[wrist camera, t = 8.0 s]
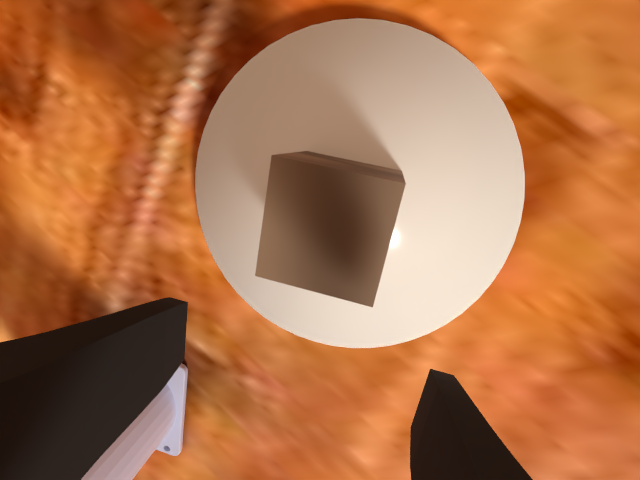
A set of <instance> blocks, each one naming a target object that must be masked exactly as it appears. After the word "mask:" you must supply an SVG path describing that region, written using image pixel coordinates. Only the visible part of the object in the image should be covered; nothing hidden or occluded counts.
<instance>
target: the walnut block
mask: <svg viewBox="0 0 640 480" xmlns="http://www.w3.org/2000/svg"><path fill="white" fill-rule="evenodd" d="M405 185H406V183H405V179H404V176H403V173H402V171H401V170H396V169H391V168H386V167H381V166H377V165H372V164H367V163H362V162H357V161H353V160H348V159H343V158H338V157H333V156H329V155H324V154H319V153H314V152H309V151H302V152H293V153H284V154H276V155H272V156H271V163H270V170H269V177H268V185H267V192H266V199H265V206H264V214H263V221H262V228H261V236H260V243H259V250H258V257H257V265H256V272H255V276H257V277H261V278H264V279H268V280H272V281H276V282H279V283H283V284H287V285H290V286H294V287H298V288H302V289H305V290H309V291H313V292H317V293H320V294H324V295H328V296H332V297H335V298H339V299H343V300H347V301H350V302H354V303H358V304H362V305H365V306H369V307H373V305H374V301H375V297H376V293H377V290H378V286H379V282H380V278H381V275H382V271H383V267H384V263H385V260H386V256H387V252H388V248H389V245H390V241H391V237H392V233H393V230H394V226H395V222H396V218H397V215H398V211H399V207H400V203H401V200H402V196H403V192H404V188H405Z"/></svg>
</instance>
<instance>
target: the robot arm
mask: <svg viewBox="0 0 640 480" xmlns="http://www.w3.org/2000/svg"><path fill="white" fill-rule="evenodd" d="M187 306H188V302H185V301H181V300H177V299H174V298H170V297H169V298H164V299H160V300H156V301H152V302H149V303H145V304H142V305H138V306H135V307H132V308H129V309H125V310H122V311H119V312H116V313H112V314H109V315H106V316H102V317H99V318H96V319H92V320H89V321H85V322H82V323H78V324H74V325H71V326H67V327H63V328H60V329H56V330H52V331H49V332H45V333H41V334H37V335H33V336H28V337H24V338H19V339H15V340H10V341H5V342H0V480H132V479H133V478H134V477H135V475H136V474H137V473H138V471H139V470H140V469H141V468H142V466H143V465H144V464H145V462H146V461H147V460H148V458H149V457H150V456H151V455H152V453H153V452H154V451H155V449H156V450H159V451H162V452H165V453H167V454H170V455H173V456H177V455H179V453H180V452H181V450H182V442H183V429H184V415H185V402H186V389H187V375H188V369H187V367H186V366H185V365H184V364H182V362H183V360H184V355H185V338H186V322H187ZM410 469H411V480H532V478H531V477H530V476H529V475H528V474H527V472H526V471H525V470H524V469H523V468H522V466H521V465H520V464H519V463H518V461H517V460H516V459H515V458H514V456H513V455H512V454H511V453H510V451H509V450H508V449H507V448H506V446H505V445H504V444H503V442H502V441H501V440H500V438H499V437H498V436H497V434H496V433H495V432H494V430H493V429H492V428H491V426H490V425H489V424H488V422H487V421H486V420H485V418H484V417H483V415H482V414H481V413H480V411H479V410H478V408H477V407H476V406H475V404H474V403H473V401H472V400H471V399H470V397H469V396H468V394H467V393H466V392H465V390H464V389H463V387H462V386H461V385H460V383H459V382H458V381H457V379H456V378H455V377H454V375H451V374H447V373H444V372H440V371H436V370H433V369H430V371H429V374H428V377H427V380H426V383H425V386H424V389H423V392H422V395H421V398H420V401H419V404H418V407H417V410H416V413H415V416H414V419H413V422H412V425H411V443H410Z"/></svg>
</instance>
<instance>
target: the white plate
mask: <svg viewBox="0 0 640 480" xmlns="http://www.w3.org/2000/svg"><path fill="white" fill-rule="evenodd" d="M302 151H309V152H314V153H319V154H324V155H329V156H333V157H338V158H343V159H348V160H353V161H357V162H362V163H367V164H372V165H377V166H381V167H386V168H391V169H396V170H401V171H402V173H403V176H404V179H405V183H406V185H405V188H404V192H403V196H402V200H401V203H400V207H399V211H398V215H397V218H396V222H395V226H394V230H393V233H392V237H391V241H390V245H389V248H388V252H387V256H386V260H385V263H384V267H383V271H382V275H381V278H380V282H379V286H378V290H377V293H376V297H375V301H374V305H373V307H369V306H365V305H362V304H358V303H354V302H350V301H347V300H343V299H339V298H335V297H332V296H328V295H324V294H320V293H317V292H313V291H309V290H305V289H302V288H298V287H294V286H290V285H287V284H283V283H279V282H276V281H272V280H268V279H264V278H261V277H257V276H255V272H256V265H257V257H258V250H259V243H260V236H261V228H262V221H263V214H264V206H265V199H266V192H267V185H268V177H269V170H270V163H271V156H272V155H276V154H284V153H293V152H302ZM524 189H525V173H524V165H523V158H522V150H521V147H520V143H519V140H518V136H517V133H516V129H515V126H514V124H513V122H512V119H511V117H510V115H509V113H508V111H507V109H506V106H505V104H504V103H503V101H502V100H501V98H500V96H499V95H498V93H497V92H496V90H495V89H494V87H493V86H492V84H491V83H490V82H489V81H488V79H487V78H486V77H485V76H484V75H483V74H482V73H481V72H480V71H479V69H478V68H477V67H476V66H475V65H474V64H473V63H472V62H471V61H469V60H468V59H467V58H466V57H464V56H463V55H462V54H461V53H460V52H458V51H457V50H456V49H455V48H453V47H452V46H450V45H448V44H446V43H445V42H443V41H441V40H440V39H438V38H436V37H434V36H433V35H431V34H428V33H426V32H423V31H421V30H418V29H416V28H413V27H410V26H408V25H404V24H399V23H395V22H390V21H386V20H377V19H363V18H355V19H342V20H332V21H328V22H324V23H320V24H315V25H311V26H308V27H306V28H303V29H301V30H298V31H295V32H293V33H290V34H288V35H286V36H284V37H283V38H281V39H279V40H277V41H276V42H274V43H272V44H270V45H269V46H267V47H266V48H265V49H263V50H262V51H261V52H259V53H258V54H257V55H256V56H254V57H253V58H252V59H250V60H249V61H248V62H247V63H246V64H245V65H244V66H243V67H242V68H241V69H240V71H239V72H238V73H237V74H236V75H235V76H234V77H233V78H232V80H231V81H230V82H229V84H228V85H227V86H226V88H225V89H224V90H223V92H222V93H221V95H220V97H219V98H218V100H217V102H216V104H215V106H214V107H213V109H212V111H211V113H210V116H209V118H208V121H207V123H206V126H205V128H204V131H203V134H202V138H201V142H200V146H199V149H198V155H197V163H196V171H195V193H196V202H197V211H198V215H199V219H200V224H201V228H202V231H203V234H204V237H205V240H206V242H207V245H208V248H209V250H210V252H211V254H212V256H213V258H214V260H215V262H216V264H217V265H218V267H219V269H220V270H221V272H222V273H223V275H224V276H225V278H226V280H227V281H228V282H229V283H230V284H231V286H232V287H233V288H234V289H235V291H236V292H237V293H238V294H239V295H240V296H241V297H242V298H243V299H244V300H245V301H246V302H247V303H248V304H249V305H250V306H251V307H252V308H253V309H255V310H256V311H257V312H258V313H260V314H261V315H262V316H264V317H265V318H266V319H268V320H269V321H271V322H273V323H274V324H276V325H277V326H279V327H281V328H283V329H285V330H287V331H289V332H291V333H293V334H295V335H297V336H300V337H303V338H306V339H309V340H311V341H314V342H318V343H323V344H327V345H331V346H339V347H348V348H374V347H382V346H390V345H394V344H399V343H403V342H407V341H410V340H413V339H416V338H418V337H421V336H424V335H426V334H429V333H430V332H432V331H434V330H436V329H438V328H440V327H442V326H444V325H446V324H447V323H449V322H450V321H452V320H453V319H454V318H456V317H457V316H459V315H460V314H462V313H463V312H464V311H465V310H466V309H467V308H469V307H470V306H471V305H472V304H473V303H474V302H475V301H476V300H477V299H478V298H479V297H480V296H481V295H482V294H483V293H484V291H485V290H486V289H487V288H488V287H489V286H490V284H491V283H492V282H493V280H494V279H495V277H496V276H497V274H498V273H499V271H500V270H501V268H502V267H503V265H504V263H505V261H506V259H507V257H508V255H509V253H510V251H511V248H512V246H513V244H514V241H515V238H516V235H517V232H518V228H519V225H520V222H521V216H522V210H523V204H524Z"/></svg>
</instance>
